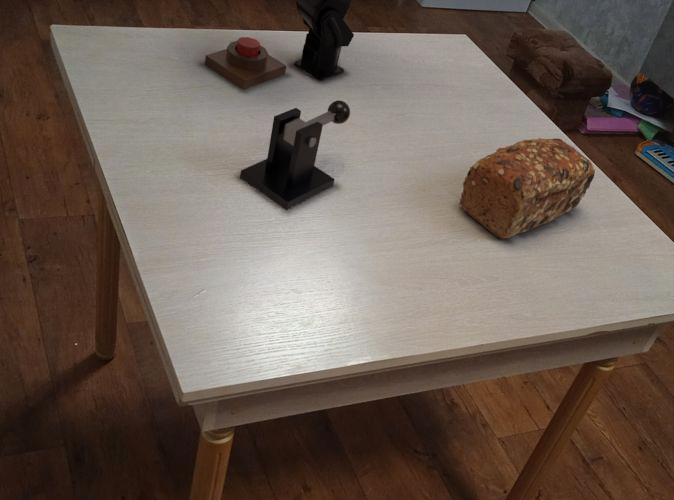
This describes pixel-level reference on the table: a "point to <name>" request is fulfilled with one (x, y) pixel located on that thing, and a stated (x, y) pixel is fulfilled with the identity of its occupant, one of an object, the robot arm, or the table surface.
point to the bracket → (290, 164)
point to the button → (248, 46)
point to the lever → (318, 120)
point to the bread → (525, 185)
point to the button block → (245, 66)
